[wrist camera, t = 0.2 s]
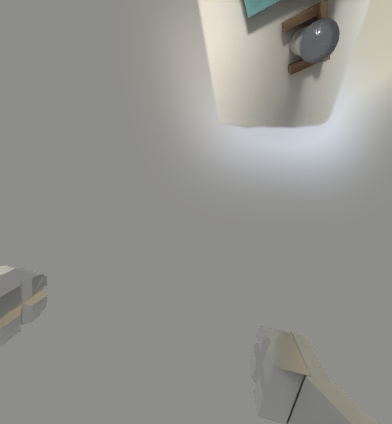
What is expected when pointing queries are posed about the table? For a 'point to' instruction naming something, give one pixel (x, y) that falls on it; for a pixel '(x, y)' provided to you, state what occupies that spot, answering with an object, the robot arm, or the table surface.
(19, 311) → the robot arm
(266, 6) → the tray
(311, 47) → the pin
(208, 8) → the table surface
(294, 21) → the bracket
